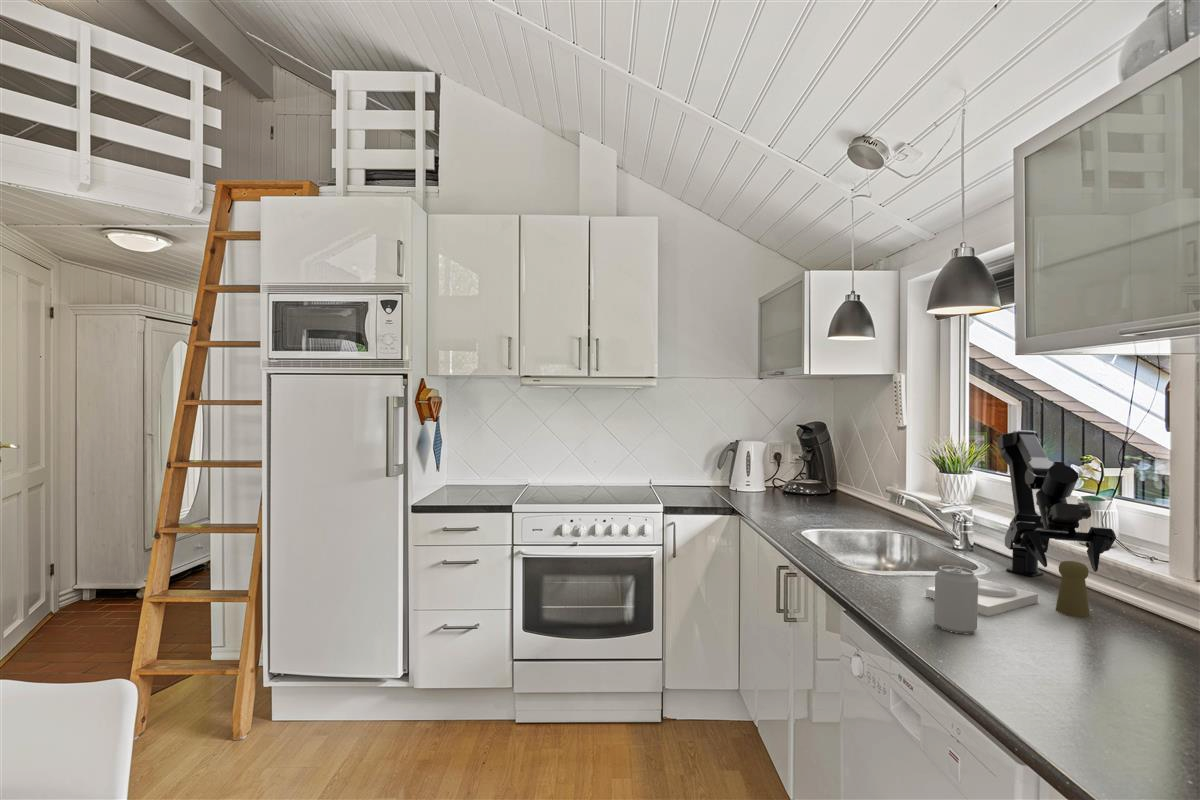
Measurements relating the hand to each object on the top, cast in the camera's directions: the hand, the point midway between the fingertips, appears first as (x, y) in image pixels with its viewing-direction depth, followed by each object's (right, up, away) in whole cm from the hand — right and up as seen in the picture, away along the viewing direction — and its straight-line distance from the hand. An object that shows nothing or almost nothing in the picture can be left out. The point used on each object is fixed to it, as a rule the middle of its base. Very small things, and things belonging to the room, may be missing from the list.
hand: (1070, 568), depth 137 cm
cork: (-1, -9, -1) cm, 10 cm away
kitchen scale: (-16, -9, +6) cm, 19 cm away
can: (-32, -9, -12) cm, 36 cm away
